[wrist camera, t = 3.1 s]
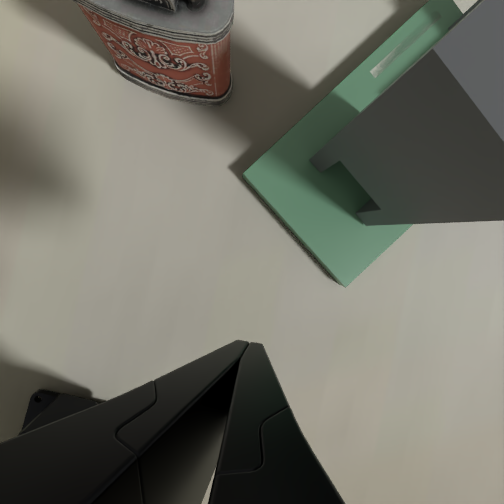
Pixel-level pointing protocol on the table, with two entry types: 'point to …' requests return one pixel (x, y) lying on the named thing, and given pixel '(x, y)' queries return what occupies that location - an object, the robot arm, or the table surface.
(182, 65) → the lighter
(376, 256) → the board
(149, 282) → the table surface
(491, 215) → the plug
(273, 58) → the table surface
